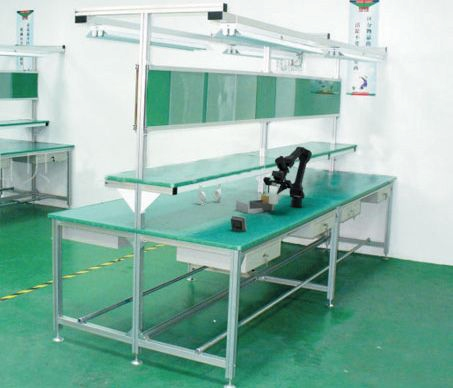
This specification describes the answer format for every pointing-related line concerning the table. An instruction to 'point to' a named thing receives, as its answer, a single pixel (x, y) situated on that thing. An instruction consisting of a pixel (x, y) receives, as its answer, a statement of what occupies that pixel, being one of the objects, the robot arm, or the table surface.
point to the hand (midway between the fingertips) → (272, 193)
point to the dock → (246, 208)
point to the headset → (203, 197)
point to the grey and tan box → (261, 203)
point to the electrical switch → (238, 223)
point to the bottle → (273, 193)
